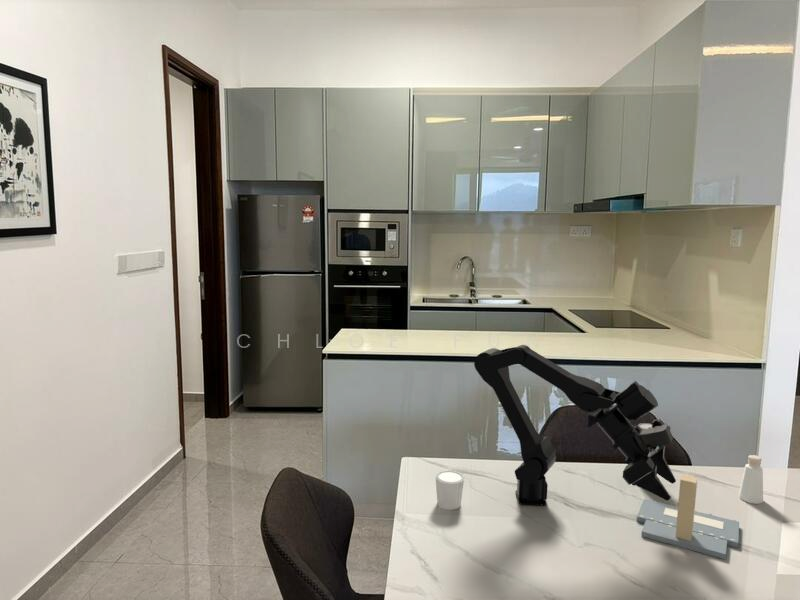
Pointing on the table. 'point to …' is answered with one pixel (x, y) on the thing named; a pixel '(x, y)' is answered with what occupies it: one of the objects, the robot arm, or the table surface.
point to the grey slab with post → (685, 525)
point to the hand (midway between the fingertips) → (671, 490)
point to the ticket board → (700, 525)
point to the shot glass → (449, 489)
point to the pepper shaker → (752, 481)
